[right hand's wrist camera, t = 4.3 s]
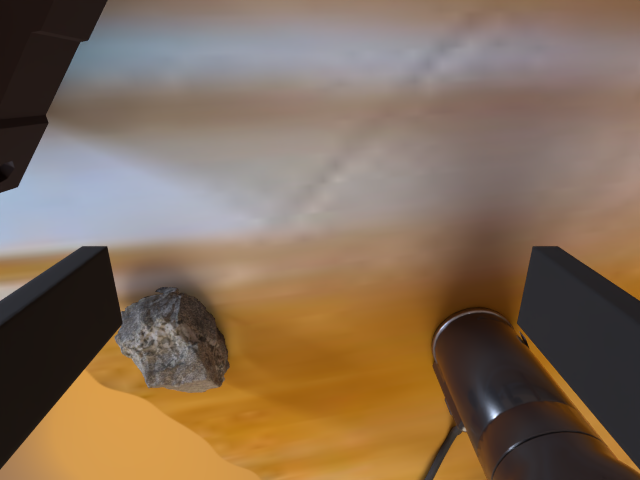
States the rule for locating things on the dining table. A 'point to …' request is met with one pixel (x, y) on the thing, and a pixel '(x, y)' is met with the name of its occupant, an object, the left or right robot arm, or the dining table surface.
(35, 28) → the mechanical component
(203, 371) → the rock
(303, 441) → the dining table surface
